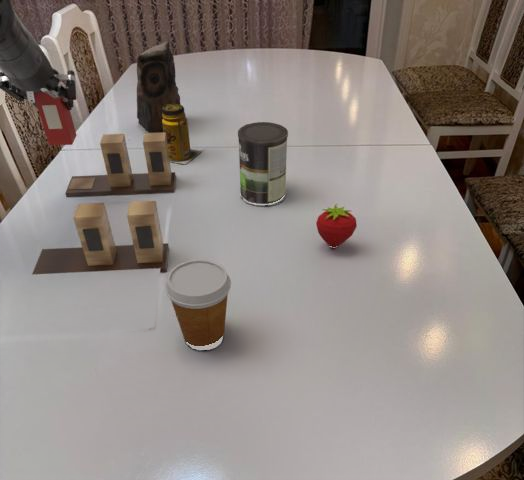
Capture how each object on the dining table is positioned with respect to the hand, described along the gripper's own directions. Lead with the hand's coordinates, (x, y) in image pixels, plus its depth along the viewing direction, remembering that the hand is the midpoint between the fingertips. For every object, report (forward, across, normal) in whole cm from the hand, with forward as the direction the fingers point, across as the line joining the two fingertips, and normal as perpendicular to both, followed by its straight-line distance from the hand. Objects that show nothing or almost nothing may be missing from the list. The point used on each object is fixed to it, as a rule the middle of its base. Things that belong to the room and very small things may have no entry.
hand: (56, 105), depth 99 cm
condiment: (+26, -22, +1) cm, 34 cm away
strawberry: (-5, -53, +32) cm, 62 cm away
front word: (-6, -9, +32) cm, 34 cm away
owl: (+40, -15, -13) cm, 45 cm away
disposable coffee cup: (-21, -28, +48) cm, 60 cm away
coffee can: (+11, -41, +16) cm, 45 cm away
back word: (+16, -9, +11) cm, 21 cm away
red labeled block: (+3, 0, +6) cm, 6 cm away
